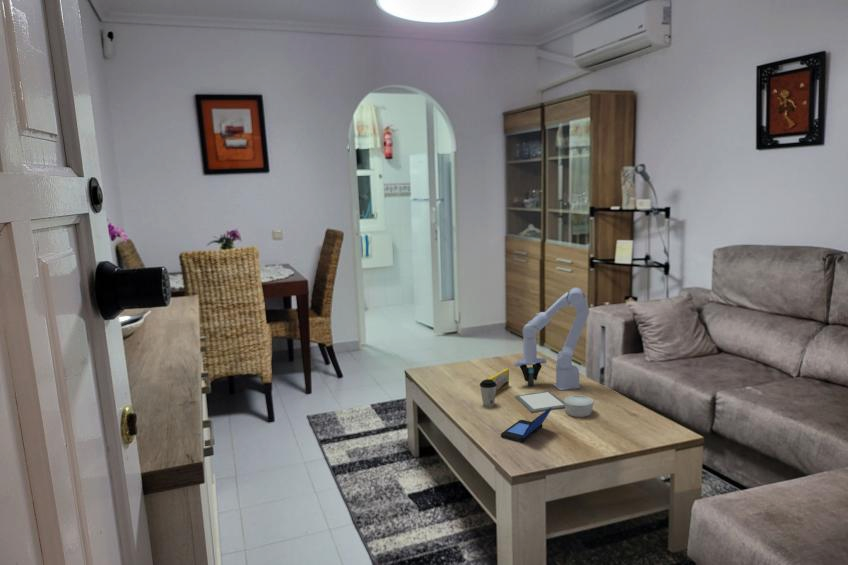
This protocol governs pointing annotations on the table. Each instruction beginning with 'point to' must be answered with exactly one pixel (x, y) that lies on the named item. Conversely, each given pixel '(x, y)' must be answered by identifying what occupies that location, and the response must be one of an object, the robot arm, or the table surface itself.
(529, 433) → the handheld game console
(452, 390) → the table surface
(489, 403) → the coffee cup
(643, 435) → the table surface
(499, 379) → the candy box
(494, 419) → the table surface
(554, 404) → the sketch board
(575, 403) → the ramekin
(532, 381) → the marker
